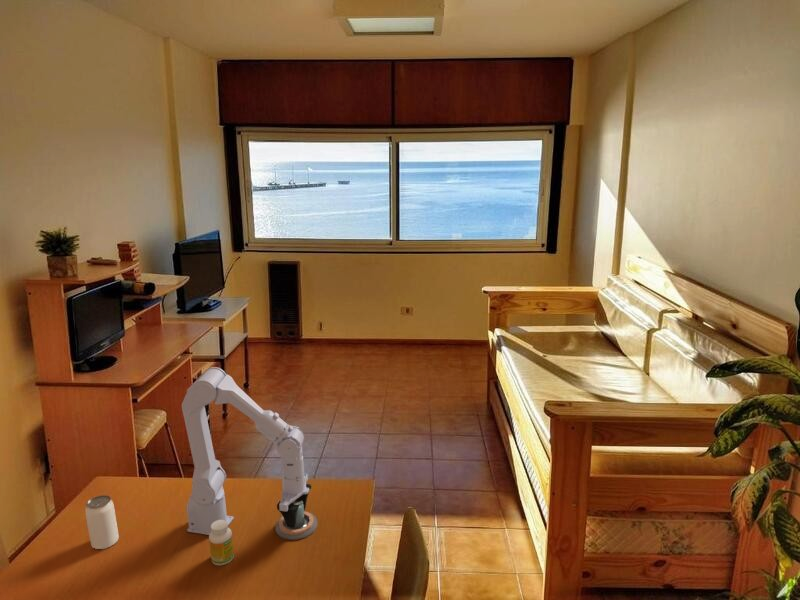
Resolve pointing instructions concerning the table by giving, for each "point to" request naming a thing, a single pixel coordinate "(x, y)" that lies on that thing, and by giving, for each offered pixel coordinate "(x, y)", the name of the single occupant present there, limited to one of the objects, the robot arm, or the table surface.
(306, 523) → the socket
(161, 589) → the table surface
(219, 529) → the supplement bottle
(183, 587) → the table surface
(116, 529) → the can
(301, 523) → the cylinder with tan strip
